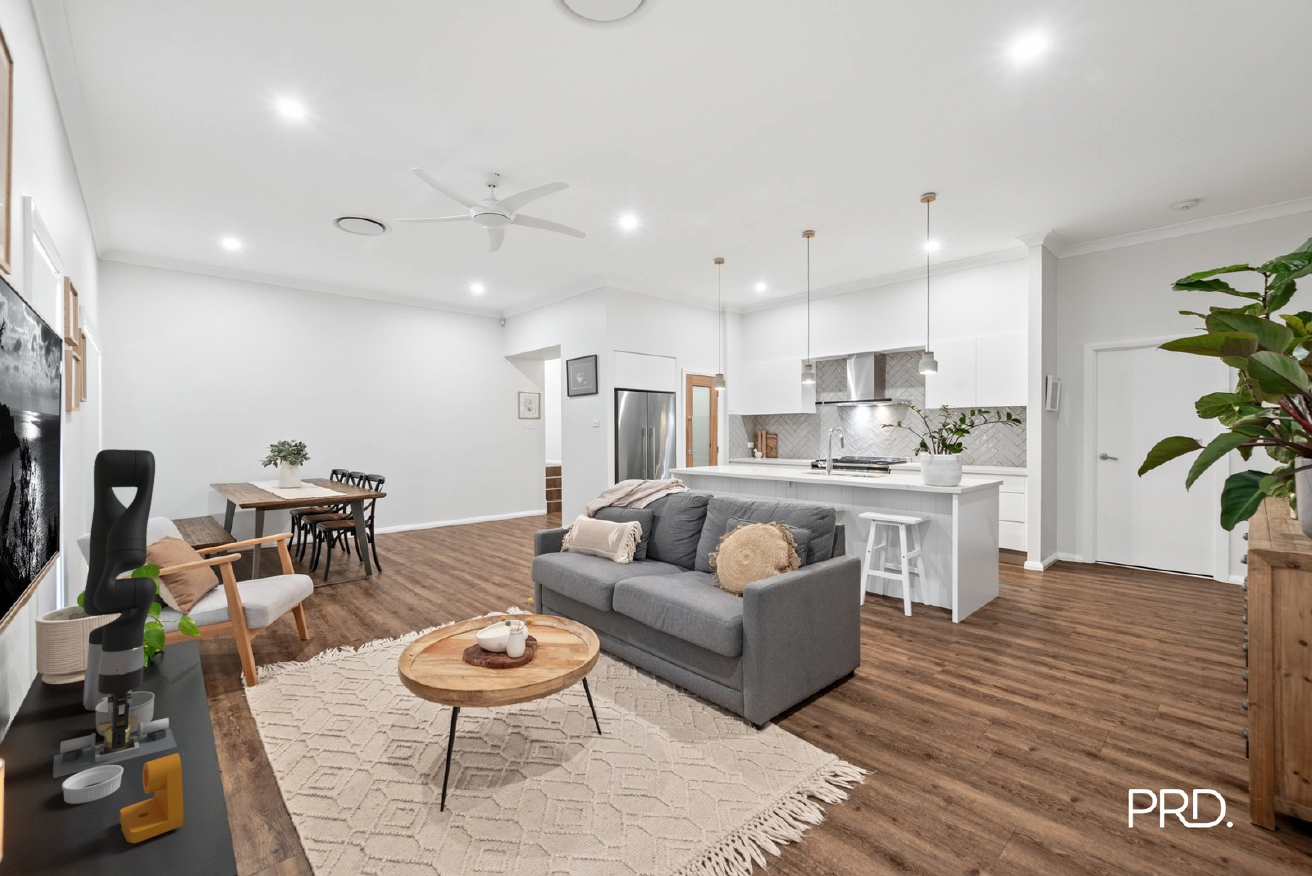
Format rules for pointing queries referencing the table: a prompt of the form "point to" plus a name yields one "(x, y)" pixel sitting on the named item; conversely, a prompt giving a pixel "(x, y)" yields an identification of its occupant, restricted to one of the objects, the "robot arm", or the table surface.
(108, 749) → the gold knob
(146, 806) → the bracket
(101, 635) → the robot arm
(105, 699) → the teacup
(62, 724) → the table surface
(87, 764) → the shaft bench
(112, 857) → the table surface
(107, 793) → the ramekin
